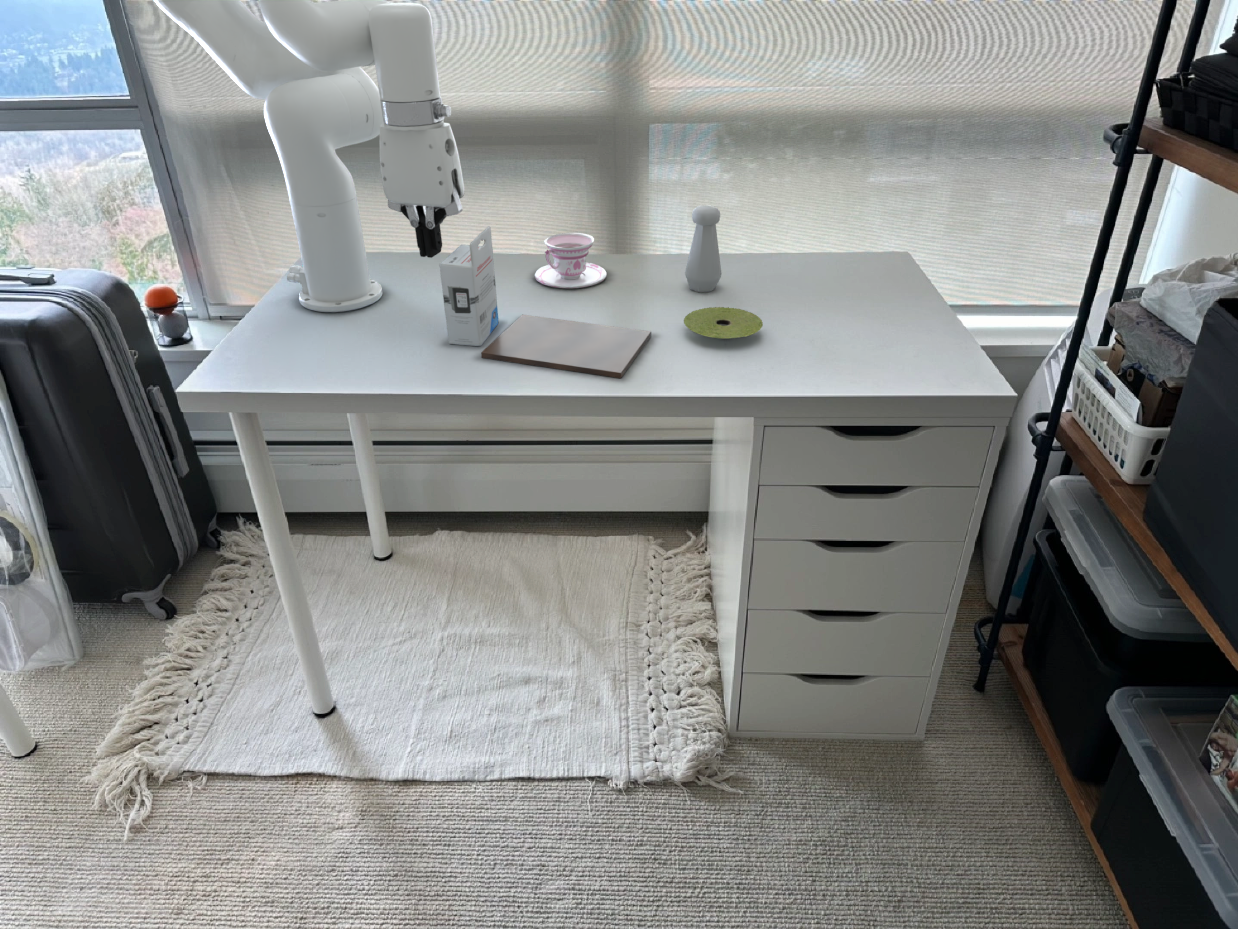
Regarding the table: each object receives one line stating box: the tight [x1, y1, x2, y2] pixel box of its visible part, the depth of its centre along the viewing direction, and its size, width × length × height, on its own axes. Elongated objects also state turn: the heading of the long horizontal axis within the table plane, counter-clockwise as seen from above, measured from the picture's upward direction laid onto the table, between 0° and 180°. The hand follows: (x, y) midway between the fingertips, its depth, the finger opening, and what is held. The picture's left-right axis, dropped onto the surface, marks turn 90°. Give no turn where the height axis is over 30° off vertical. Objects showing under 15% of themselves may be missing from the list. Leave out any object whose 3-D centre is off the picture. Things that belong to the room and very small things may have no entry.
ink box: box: [438, 225, 500, 347], centre depth 119 cm, size 9×5×15 cm, turn 168°
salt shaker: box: [684, 204, 723, 293], centre depth 135 cm, size 6×6×13 cm
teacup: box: [534, 232, 607, 289], centre depth 141 cm, size 12×12×6 cm
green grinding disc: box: [683, 306, 764, 340], centre depth 123 cm, size 11×11×2 cm
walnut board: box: [480, 314, 652, 379], centre depth 119 cm, size 20×14×1 cm
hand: (431, 253), depth 119 cm, fingers closed
